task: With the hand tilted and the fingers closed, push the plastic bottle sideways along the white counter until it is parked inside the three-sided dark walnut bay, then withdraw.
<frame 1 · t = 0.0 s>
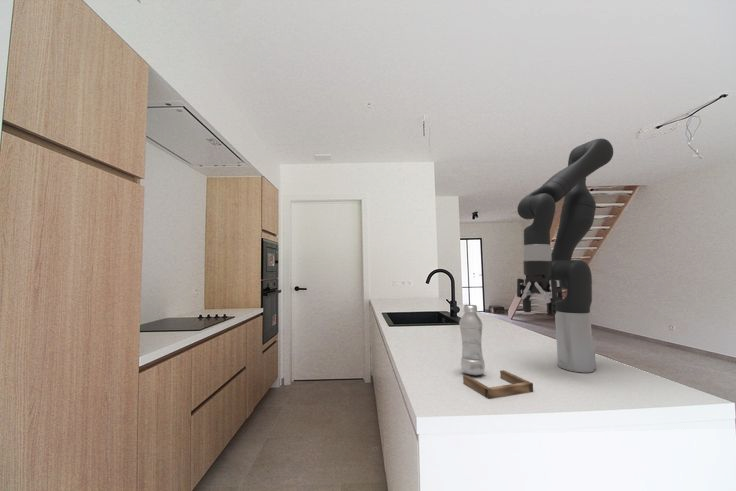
hand: (538, 314, 90), 17 cm above the table, tool pointing down, fingers open, 8 cm apart
plastic bottle: (473, 374, 88), on the table
bay: (495, 386, 79), on the table
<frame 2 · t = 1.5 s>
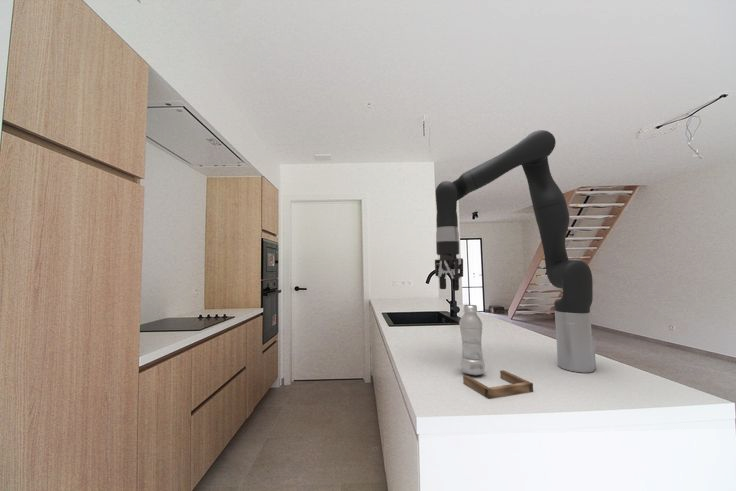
hand: (448, 289, 101), 24 cm above the table, tool pointing down, fingers open, 7 cm apart
nothing on the table moved.
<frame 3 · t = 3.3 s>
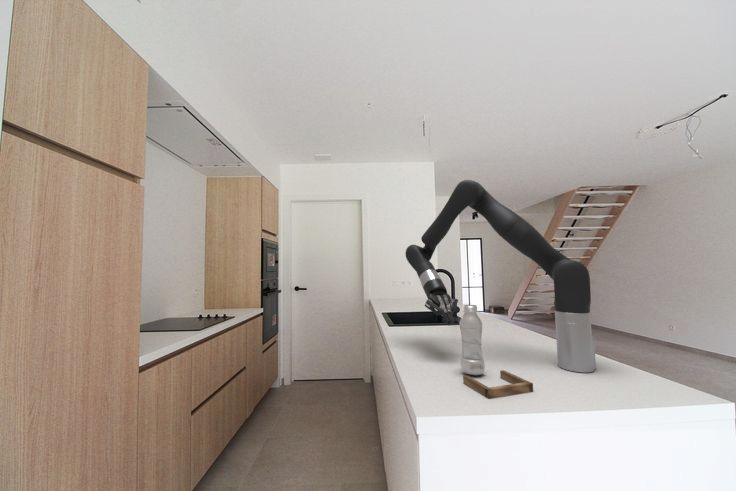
hand: (451, 323, 99), 13 cm above the table, tool tilted 45°, fingers closed
nothing on the table moved.
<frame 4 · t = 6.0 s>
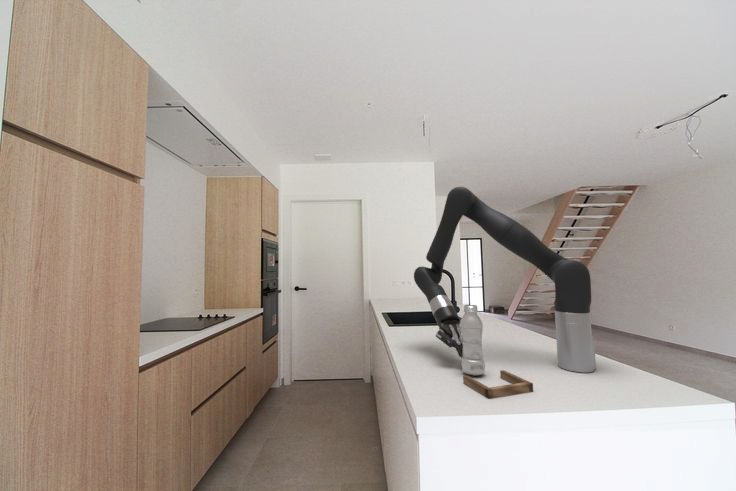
hand: (465, 357, 92), 4 cm above the table, tool tilted 45°, fingers closed
plastic bottle: (473, 375, 88), on the table, touching gripper
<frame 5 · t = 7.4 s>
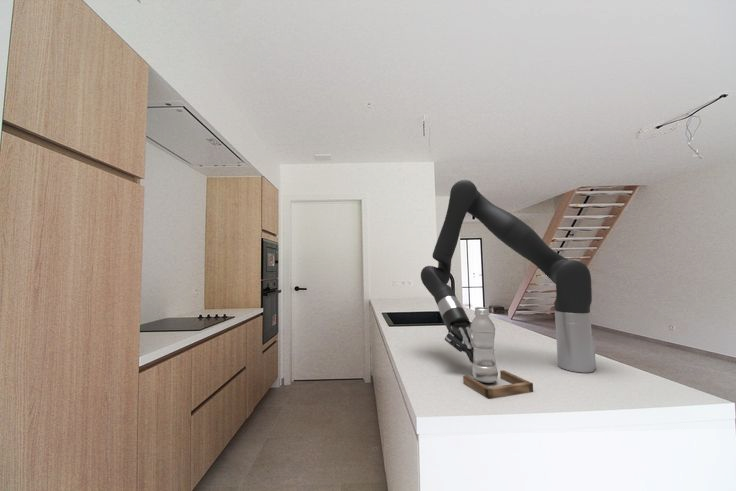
hand: (476, 362, 86), 4 cm above the table, tool tilted 45°, fingers closed
plastic bottle: (485, 382, 82), on the table, touching gripper
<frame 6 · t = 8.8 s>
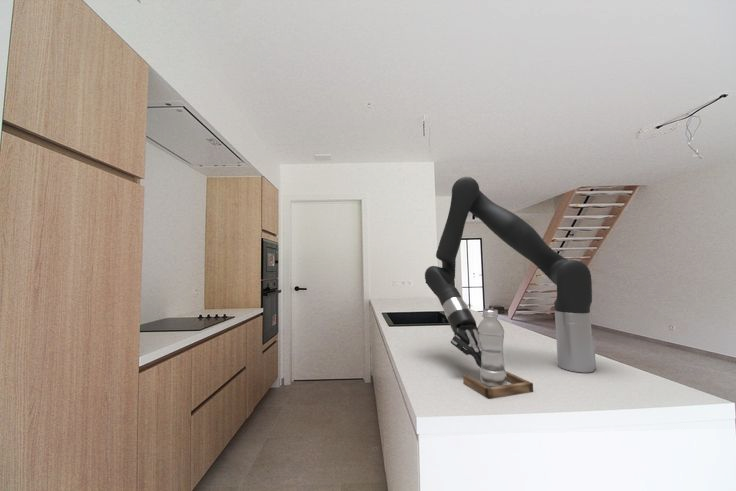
hand: (484, 366, 82), 4 cm above the table, tool tilted 45°, fingers closed
plastic bottle: (493, 387, 79), on the table, touching gripper
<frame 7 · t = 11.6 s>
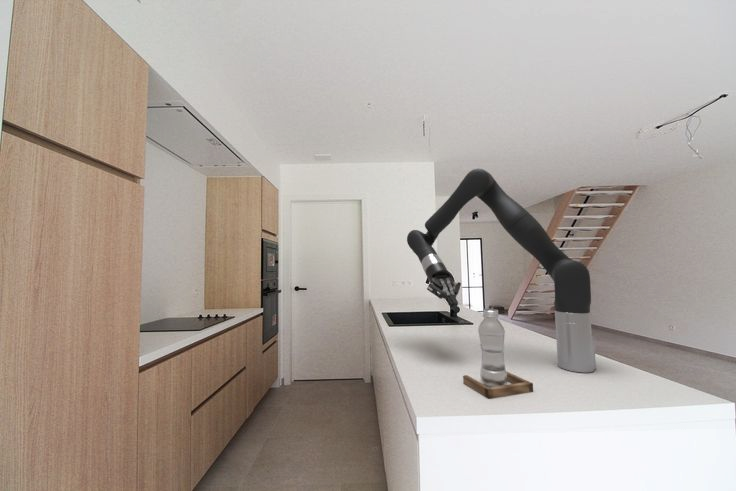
hand: (455, 306, 97), 19 cm above the table, tool tilted 45°, fingers closed
plastic bottle: (494, 387, 79), on the table
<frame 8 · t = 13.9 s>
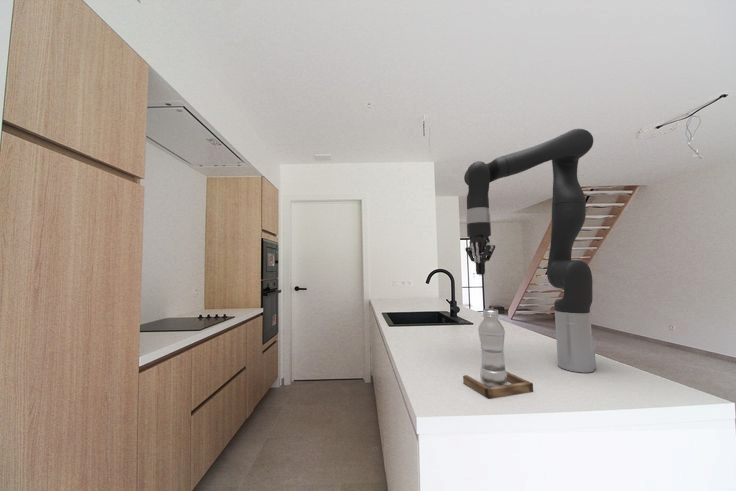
hand: (480, 274, 99), 29 cm above the table, tool pointing down, fingers closed
nothing on the table moved.
at the end: plastic bottle inside the target area on the bay (0.7 cm from its centre), point 0.0 cm above the bay's base; plastic bottle tilted 0°; plastic bottle touching table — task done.
